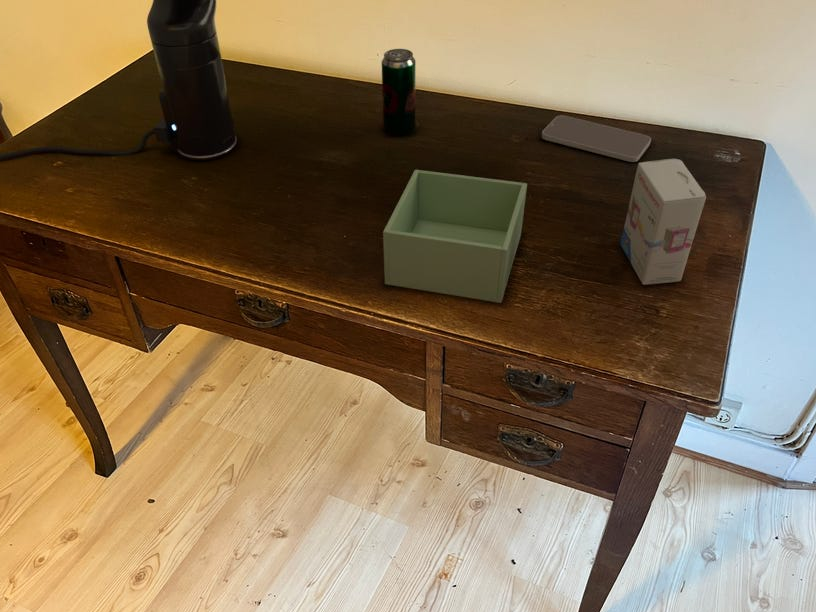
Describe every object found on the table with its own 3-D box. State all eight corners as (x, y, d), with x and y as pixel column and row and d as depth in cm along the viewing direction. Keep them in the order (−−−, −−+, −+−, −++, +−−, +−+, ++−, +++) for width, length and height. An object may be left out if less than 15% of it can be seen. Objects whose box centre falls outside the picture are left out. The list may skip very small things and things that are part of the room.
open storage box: (384, 284, 89) (382, 231, 83) (414, 220, 98) (414, 169, 93) (501, 303, 85) (507, 249, 80) (520, 234, 95) (527, 183, 90)
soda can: (412, 138, 114) (412, 61, 106) (380, 136, 115) (378, 60, 107) (417, 123, 118) (417, 48, 109) (386, 121, 119) (384, 46, 110)
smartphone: (636, 158, 105) (539, 133, 111) (635, 164, 106) (538, 139, 112) (653, 137, 110) (558, 114, 116) (651, 142, 110) (558, 119, 116)
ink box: (616, 244, 93) (637, 159, 84) (655, 240, 93) (679, 155, 84) (640, 286, 86) (665, 199, 78) (682, 282, 87) (711, 195, 78)
